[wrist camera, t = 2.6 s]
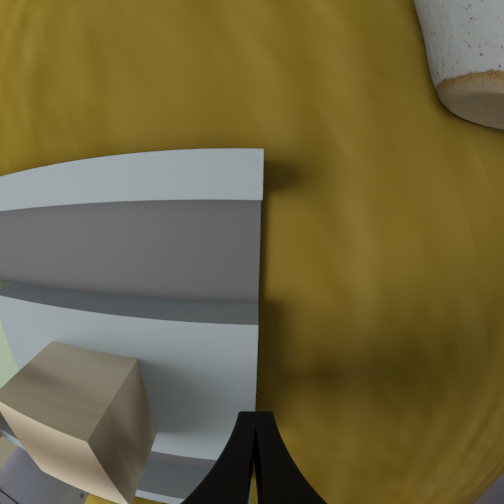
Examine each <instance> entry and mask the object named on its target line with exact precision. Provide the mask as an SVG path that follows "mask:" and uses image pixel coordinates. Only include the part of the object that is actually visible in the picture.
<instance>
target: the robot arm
mask: <svg viewBox="0 0 504 504" xmlns="http://www.w3.org/2000/svg"><path fill="white" fill-rule="evenodd" d="M254 464H255V475H256V486H257V496H258V504H327V503H326V502H325V501H324V500H323V499H322V498H321V497H320V496H319V495H318V494H317V493H316V491H315V490H314V489H313V488H312V487H311V485H310V484H309V483H308V482H307V480H306V479H305V478H304V476H303V475H302V474H301V472H300V471H299V469H298V468H297V466H296V464H295V463H294V461H293V459H292V458H291V456H290V454H289V452H288V450H287V448H286V446H285V444H284V442H283V440H282V438H281V436H280V433H279V431H278V428H277V425H276V422H275V419H274V414H273V413H272V412H256V411H240V412H239V413H238V416H237V420H236V423H235V426H234V429H233V431H232V433H231V436H230V438H229V440H228V442H227V444H226V446H225V448H224V449H223V451H222V453H221V455H220V456H219V458H218V459H217V461H216V463H215V464H214V466H213V467H212V469H211V470H210V471H209V473H208V474H207V475H206V477H205V478H204V479H203V480H202V482H201V483H200V484H199V485H198V486H197V487H196V488H195V490H194V491H193V492H192V493H191V494H190V495H189V496H188V497H187V498H186V499H185V500H184V501H183V502H181V503H180V504H248V500H249V493H250V486H251V479H252V472H253V465H254ZM88 494H89V492H86V491H84V490H81V489H79V488H77V487H74V486H72V485H70V484H68V483H65V482H63V481H61V480H59V479H57V478H55V477H53V476H51V475H49V474H47V473H45V472H43V471H42V470H41V469H40V468H39V467H38V465H37V464H36V463H35V462H34V460H33V459H32V458H31V456H30V455H29V454H28V452H27V451H26V450H24V449H22V448H21V447H19V446H17V447H16V448H15V450H14V451H13V452H12V454H11V455H10V456H9V458H8V459H7V461H6V462H5V463H4V465H3V466H2V468H1V469H0V504H84V503H85V501H86V498H87V496H88Z"/></svg>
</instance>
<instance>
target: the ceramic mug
mask: <svg viewBox="0 0 504 504" xmlns="http://www.w3.org/2000/svg"><path fill="white" fill-rule="evenodd" d="M413 2H414V5H415V9H416V12H417V16H418V19H419V23H420V26H421V30H422V33H423V37H424V42H425V48H426V54H427V60H428V65H429V70H430V74H431V78H432V81H433V84H434V88H435V90H436V93H437V95H438V98H439V99H440V101H441V102H442V103H443V104H444V105H445V107H446V108H447V109H448V110H450V111H451V112H452V113H453V114H455V115H457V116H459V117H461V118H463V119H466V120H468V121H471V122H473V123H477V124H480V125H484V126H488V127H492V128H497V129H502V130H504V0H413Z"/></svg>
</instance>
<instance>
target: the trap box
mask: <svg viewBox="0 0 504 504" xmlns="http://www.w3.org/2000/svg"><path fill="white" fill-rule="evenodd" d="M263 163H264V149H188V150H169V151H154V152H142V153H131V154H122V155H113V156H105V157H97V158H90V159H83V160H77V161H71V162H65V163H59V164H54V165H49V166H44V167H39V168H34V169H30V170H25V171H21V172H17V173H12V174H8V175H4V176H1V177H0V389H1V388H2V387H3V386H4V385H5V384H6V383H7V382H8V381H9V380H10V379H11V378H12V377H13V376H14V375H15V374H16V373H17V372H18V371H20V370H21V369H22V368H23V367H24V366H25V365H26V364H27V363H28V362H29V361H30V360H31V359H33V358H34V357H35V356H36V355H37V354H38V353H39V352H40V351H41V350H43V349H44V348H45V347H46V346H47V345H48V344H49V343H50V342H52V341H53V342H57V343H61V344H65V345H70V346H74V347H78V348H83V349H88V350H92V351H97V352H103V353H108V354H113V355H119V356H125V357H131V358H138V361H139V366H140V370H141V374H142V379H143V383H144V387H145V391H146V395H147V399H148V403H149V406H150V410H151V413H152V417H153V420H154V424H155V427H156V430H157V435H156V437H155V440H154V443H153V446H152V448H151V451H150V454H149V457H148V459H147V462H146V465H145V468H144V471H143V473H142V476H141V479H140V482H139V485H138V488H137V490H136V493H135V496H137V497H141V498H145V499H149V500H154V501H158V502H163V503H168V504H180V503H181V502H183V501H184V500H185V499H186V498H187V497H188V496H189V495H190V494H191V493H192V492H193V491H194V490H195V488H196V487H197V486H198V485H199V484H200V483H201V482H202V480H203V479H204V478H205V477H206V475H207V474H208V473H209V471H210V470H211V469H212V467H213V466H214V464H215V463H216V461H217V459H218V458H219V456H220V455H221V453H222V451H223V449H224V448H225V446H226V444H227V442H228V440H229V438H230V436H231V433H232V431H233V429H234V426H235V423H236V420H237V416H238V413H239V412H240V411H255V406H256V380H257V354H258V298H259V264H260V226H261V200H263ZM1 436H3V437H5V438H6V439H8V440H9V441H11V442H12V443H14V444H16V445H17V446H19V447H21V448H22V449H24V450H25V448H24V447H23V446H22V444H21V443H20V441H19V440H18V438H17V437H16V435H15V434H14V432H13V431H12V429H11V428H10V426H9V425H8V423H7V422H6V420H5V418H4V417H3V415H2V413H1V412H0V437H1ZM251 494H252V479H251V486H250V493H249V500H248V504H251Z"/></svg>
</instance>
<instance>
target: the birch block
mask: <svg viewBox="0 0 504 504" xmlns="http://www.w3.org/2000/svg"><path fill="white" fill-rule="evenodd" d="M0 412H1V413H2V415H3V417H4V418H5V420H6V422H7V423H8V425H9V426H10V428H11V429H12V431H13V432H14V434H15V435H16V437H17V438H18V440H19V441H20V443H21V444H22V446H23V447H24V448H25V450H26V451H27V452H28V454H29V455H30V456H31V458H32V459H33V460H34V462H35V463H36V464H37V465H38V467H39V468H40V469H41V470H42V471H43V472H45V473H47V474H49V475H51V476H53V477H55V478H57V479H59V480H61V481H63V482H65V483H68V484H70V485H72V486H74V487H77V488H79V489H81V490H84V491H86V492H89V493H91V494H94V495H96V496H99V497H102V498H105V499H107V500H110V501H113V502H116V503H119V504H132V502H133V499H134V496H135V493H136V490H137V488H138V485H139V482H140V479H141V476H142V473H143V471H144V468H145V465H146V462H147V459H148V457H149V454H150V451H151V448H152V446H153V443H154V440H155V437H156V435H157V430H156V427H155V424H154V420H153V417H152V413H151V410H150V406H149V403H148V399H147V395H146V391H145V387H144V383H143V379H142V374H141V370H140V366H139V361H138V358H131V357H125V356H119V355H113V354H108V353H103V352H97V351H92V350H88V349H83V348H78V347H74V346H70V345H65V344H61V343H57V342H53V341H52V342H50V343H49V344H48V345H47V346H46V347H45V348H44V349H43V350H41V351H40V352H39V353H38V354H37V355H36V356H35V357H34V358H33V359H31V360H30V361H29V362H28V363H27V364H26V365H25V366H24V367H23V368H22V369H21V370H20V371H18V372H17V373H16V374H15V375H14V376H13V377H12V378H11V379H10V380H9V381H8V382H7V383H6V384H5V385H4V386H3V387H2V388H1V389H0Z"/></svg>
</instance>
